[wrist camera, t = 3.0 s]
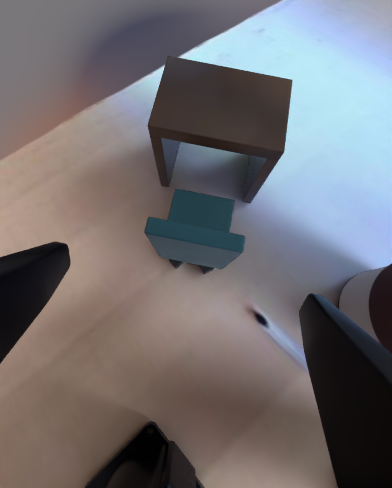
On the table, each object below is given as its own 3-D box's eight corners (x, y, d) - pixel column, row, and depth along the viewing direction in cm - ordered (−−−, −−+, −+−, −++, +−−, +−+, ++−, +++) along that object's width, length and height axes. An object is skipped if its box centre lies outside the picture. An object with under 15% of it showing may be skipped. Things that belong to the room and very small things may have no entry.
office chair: (220, 278, 20) (257, 255, 10) (159, 266, 20) (130, 230, 10) (229, 222, 22) (271, 148, 11) (172, 211, 22) (159, 126, 11)
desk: (250, 203, 22) (284, 152, 14) (160, 185, 22) (147, 125, 15) (258, 151, 24) (292, 79, 16) (174, 134, 24) (167, 55, 16)
